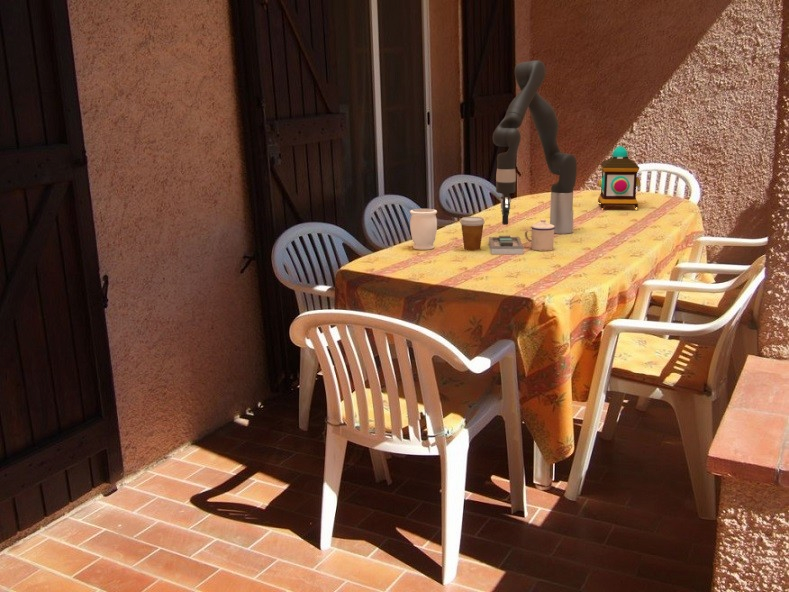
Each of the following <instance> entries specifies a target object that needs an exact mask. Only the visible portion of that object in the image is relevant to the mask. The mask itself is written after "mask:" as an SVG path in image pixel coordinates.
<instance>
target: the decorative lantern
mask: <svg viewBox="0 0 789 592" xmlns="http://www.w3.org/2000/svg"><path fill="white" fill-rule="evenodd" d="M599 165H600V167H601V170H602V171H601V179H599V180H598V181H597V186H598V187H599V188H601V191H600V194H599V196H598V198H597V203H598V202H599V203H601V205H600V209H601V208H604V209H605V207H606V206H633V208H634V207H635V208H636V207H638V208H639V203H638V200H637V187H639V186H640V181H641V179H640V177H638V172H639V171H640V166H639V165H638V164H637V163H636V162H635V161H634V160H631V159H630V158H629V156H628V150H627V149H626V148H625V147H624V146H617V147H616V148H615V149H614V150H613V151H612V155H611V157H609V158H607V159H605V160H603V161H602V162H600V164H599Z"/></svg>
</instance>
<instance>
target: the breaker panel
mask: <svg viewBox="0 0 789 592" xmlns="http://www.w3.org/2000/svg"><path fill="white" fill-rule="evenodd" d="M510 237H511V239H512V242H513V246H501V244H500V241H499V236H498V237H497V236H489V237H488V246H489V250H490V253H491V255H523V254H524V245H523V243H522V240H521V238H520V237H519V236H510Z"/></svg>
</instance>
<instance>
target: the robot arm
mask: <svg viewBox="0 0 789 592" xmlns="http://www.w3.org/2000/svg"><path fill="white" fill-rule="evenodd" d="M546 71H547V70H546V65H545V64H544V62H542V60H536V59H535V60H530V61H523V62H519V63H518V64H516V65H515V66H514V77H515V80H516V83H517V85H518V88H519V89H520V92H519V93H518V94H517V95H516V96H515V97H514V98H513V99H512V101H511V102H510V103H509V105H508V108H507V110H506V111H505V116H504V118H503V119H502V120H501V121H500V123H499V124H498V125H497V126H496V128H495V129H494V131H493V133H492V143H493V144H494V145H495V146H497V147H507V148H508V149H507V151H506V152H500V153H499V154H497V156H496V157H497V158H496V161H497V162H496V174H495V175H496V177H495V180H496V181H495V192H496V193H498V194H501V196H499V200H500V209H501V211H500V212H501V217H502V221H501V223H502V225H503V226H507V225H509V215H510V211H511V203H512V198H511V196H510V194H514V193H516V191H517V189H516V188H517V187H516V186H517V185H516V183H517V182H516V181H517V180H516V179H517V175H516V173H517V171H516V158H517V153H518V149H519V146H520V143H521V138H522V136H521V132H520V130H519V129H518V128H520V127H521V125H522V124H523V121H524V119H525V116H526V114H527V110H529V112H530V115H531V118H532V122H533V124H534V127H535V129H536V131H537V134H538V137H539V141H540V142H541V145H542V149H543V150H542V151H543V153H544V156H545V162H546V165H547V168H548V170H549V172H550V173H551V174H553V175H556V176H558V180H557V182H555V183H553V184H552V185H551V186H550V211H549V212H550V213H549V224H552V225H554V227H555V229H554V234H557V235H559V234H562V235H563V234H572V233H574V232H573V231H574V210H573V209H574V207H573V205H574V189H575V185H576V183H577V182H576V181H577V180H576V179H577V171H578V163H577V159H576V157H575V155H574V154H570V153H563V152H562V151H561V150H560V148H559V144H558V142H557V137H558V132H559V120H558V117H557V115H556V112H555V110H554V108H553V106H552V105H551V104H550V103H549V102H548V101H547V100H546V99H545V98H543V97H542V96H541V95H540V94H539V92H538V91H539V89H540V87H541V86H542V84H543V82H544V80H545V77H546V75H547V74H546V73H547V72H546Z"/></svg>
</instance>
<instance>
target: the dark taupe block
mask: <svg viewBox="0 0 789 592" xmlns="http://www.w3.org/2000/svg"><path fill="white" fill-rule="evenodd" d="M501 246H513V242H512V241H501Z"/></svg>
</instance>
